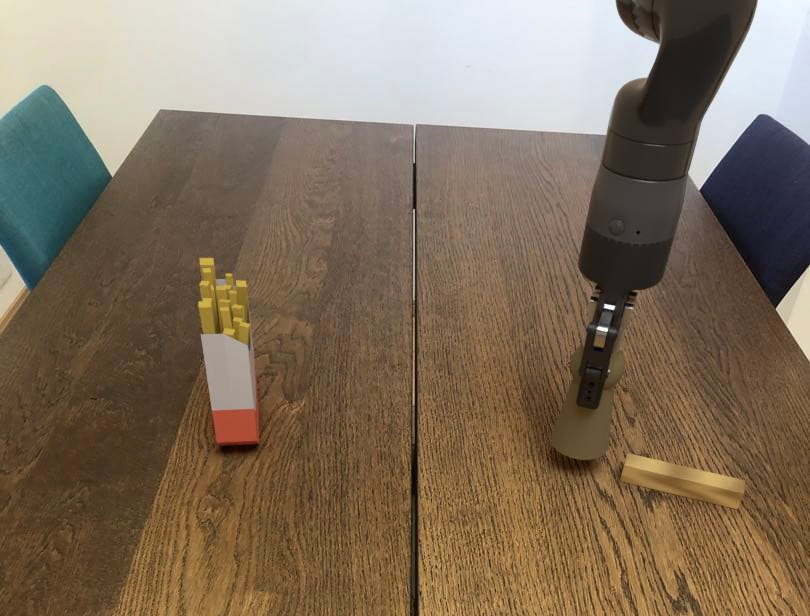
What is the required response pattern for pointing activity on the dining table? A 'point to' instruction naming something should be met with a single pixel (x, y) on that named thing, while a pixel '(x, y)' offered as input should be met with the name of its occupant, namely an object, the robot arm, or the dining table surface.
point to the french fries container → (229, 357)
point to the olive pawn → (586, 414)
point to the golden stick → (683, 481)
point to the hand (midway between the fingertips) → (592, 389)
